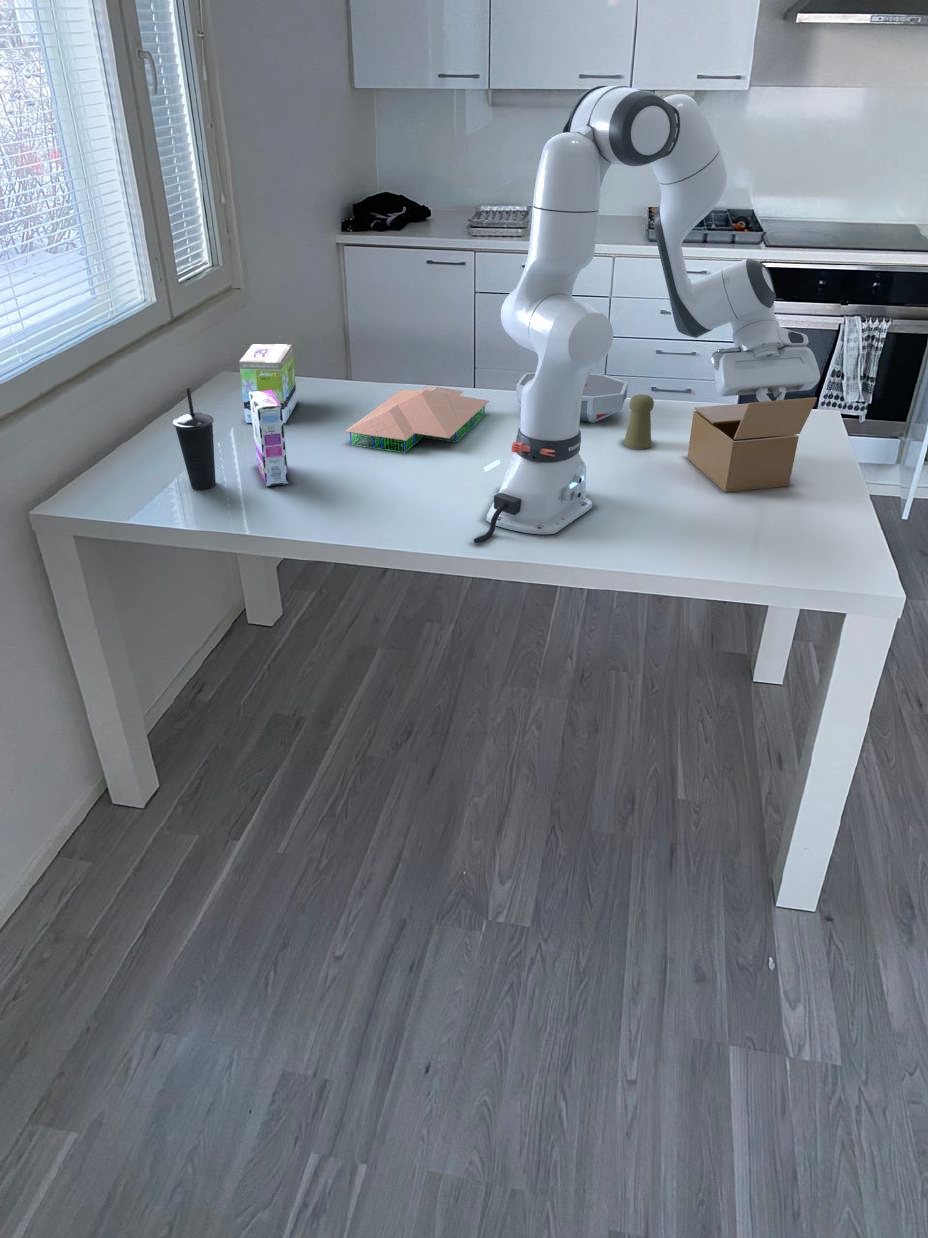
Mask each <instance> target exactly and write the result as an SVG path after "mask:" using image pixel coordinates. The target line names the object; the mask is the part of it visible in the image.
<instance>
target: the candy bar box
mask: <svg viewBox="0 0 928 1238" xmlns="http://www.w3.org/2000/svg"><path fill="white" fill-rule="evenodd" d="M249 397H250V405H251V415H252V423H251V424H252V431H253V440H254V448H255V458H256V465H257V466H256V467H257V469H258V472H259V474H260V476H261V479H262V480H263V482H264V485H265V487H275V486H283V485H289V483H290V482H289V473H288V461H287V449H286V439H285V430H284V429H285V428H284V423H283V417H282V406H281V405H280V403H279V402H278V400H277V398H276V397H275V395H274V393H273V392H272V390H264V391H255V392H249Z"/></svg>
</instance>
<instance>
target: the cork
mask: <svg viewBox="0 0 928 1238" xmlns="http://www.w3.org/2000/svg"><path fill="white" fill-rule="evenodd" d="M628 404H629V409H630V410H631V411H630V415H629V419H628V422H627V423H628V424H627V427H626V432H625V435H624V441H623V446H625V447H626V448H629V449H632V450H647V449H650V448H651V447H652V422H651V417H652V416H651V412H652V411H653V409H654V405H655V401H654V399H653V397H651V396H650V395H648V394H643V393H642V394H641V393H640V394H635V395H633V396H632V397H631V398H630V401H629V403H628Z"/></svg>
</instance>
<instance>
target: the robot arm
mask: <svg viewBox="0 0 928 1238" xmlns="http://www.w3.org/2000/svg"><path fill="white" fill-rule="evenodd" d="M612 164H613V165H620V166H621V165H622V166H623V165H624V166H628V167H642V166H646V165H649V164H650V165H651V167H652V170H653V174H654V176H655V178H656V181H657V183H658V186H659V190H660V202H659V205H658V206H657V207H656V209H655V210H654V214H653V227H654V234H655V240H656V244H657V250H658V253H659V258H660V262H661V268H662V272H663V275H664V279H665V284H666V289H667V293H668V298H669V309H670V310H669V311H670V315H671V319H672V322H673V325H674V326H675V327H674V328H676V330H677V332H679V333H680V334H682V335H684V336H687V337H690V338H695V339H698V338H699V337H701V336H704V335H705V334H707V333H709V332H711V331H713V330H714V329H717V328H719V327H722V326H725V325H726V324H727V325H728V324H730V325H731V329H732V342H733V345H734V347H728V348H724V347H720V348H717V349H716V350H715V351H713V352H712V354H711V358H710V359H711V363H712V367H713V369H714V380H715V388H716V392H717V393H718V394H719V395H720V396H721V397H733V396H746V395H747V396H748V395H755V398H756V400H757V401H758V402H763V401H772V400H771V398H770V397H769V396H768V394H773V397H774V398H776V400H785V396H786V393H789V392H800V391H811V390H812V389H813V388H814V387H815V386H817V384H818V383H819V381H820V379H821V372H820V369H819V365H818V362H817V360H816V357H815V353H814V352H813V351H812V349H810V348H809V347H808V346H807V345H808V344H809V337H808V335H807V334H805V333H802V332H799V331H794V330H790V329H787V328H785V327H782V326H781V325H780V321H779V320H778V318H777V317H776V315H775V301H776V297H777V294H776V291H775V287H774V283H773V278H772V276H771V273H770V270H769V268H768V267H767V266H766V265H765V264H763V263H762V262H760V261H758V260H755V259H752V258H746V259H743V260H740V261H737V262H735V263H732V264H729V265H728V266H725V267H723V268H721V269H720V270H717V271H715V272H711V273H710V274H708V275H705V276H702V277H700V278H698V279H690V278H689V276H688V271H687V266H686V262H685V257H684V252H683V247H682V244H683V242H684V240H685V239H686V237H687V236H688V234H690V233H691V231H692V230H693V229H694V228H695V227H696V226H697V225H698V224H699V223H700V222H701V221H702V220H704V219H705V218H706V217H707V216H708V215H709V214H710V213H711V212H712V211H713V209H714V208H715V207H716V205H717V204H719V203H718V202H720V200H721V198H722V196H723V194H724V192H725V189H726V187H727V186H726V185H727V179H728V172H727V169H726V165H725V160H724V157H723V154H722V151H721V148H720V146H719V143H718V141H717V138H716V135H715V132H714V131H713V129H712V127H711V125H710V124H709V121H708V119H707V117H706V116H705V114H704V113H703V111H702V109H701V107H700V106H699V105H698V103H697V102H696V100H695V99H693V98H692V97H691V96H690V95H687V94H683V93H682V94H681V93H679V94H678V93H677V94H672V95H669V96H666V97H662V96H660V95H659V94H657V93H655V92H653V91H650V90H645V89H641V90H640V89H637V88H634V87H632V86H628V85H598V86H595V87H592V88H590V89H588V90H586V91H585V92H583V93H582V94H580V96H579V97H578V98H577V99H576V100H575V102H574V104H573V105H572V107H571V109H570V112H569V115H568V119H567V121H566V123H565V125H564V126H563V129H562V133H559V134H556V135H554V136H552V137H551V138H549V139H548V140H547V142H546V143H545V144H544V146H543V148H542V152H541V155H540V159H539V163H538V167H537V172H536V178H535V183H534V190H533V200H532V212H531V221H530V222H531V223H530V233H529V242H528V243H529V244H528V252H527V256H526V261H525V264H524V267H523V271H522V274H521V276H520V279H519V281H518V283H517V285H516V287H515V288H514V289H513V290H512V291H511V292H510V293H509V294H508V295H507V296H506V297H505V299H504V301H503V303H502V305H501V309H500V322H501V326H502V328H503V330H504V331H505V333H506V334H507V335H508V337H510V338H511V339H512V340H513V341H514V342H515V343H516V344H517V345H519V347H520V346H521V347H522V348H523V349H527V350H528V351H531V352H533V353H535V354H537V361H538V362H537V366H536V370H535V372H536V373H535V376H534V378H533V379H532V380H530V381H529V382H527V383H526V384H525V386H524V387H523V389H522V393H521V403H520V417H519V418H520V419H519V420H520V422H519V427H518V429H517V434H516V437H515V440H514V441H513V442H512V444H511V452H512V454H513V455H512V457H511V459H510V462H509V465H508V467H507V470H506V473H505V475H504V478H503V481H502V483H501V486H500V489H499V491H498V493H496V494H495V495H493V502H492V504H491V506H490V508H489V510H488V512H487V513H486V522H488V523H490V524H489V529H488V530H487V532H486V533H484V534H482V535H480V536H478V537H475V538H473V542H474V544H476V545H477V544H479V543H481V542H485V541H487V540H488V539H490V538H491V537H492V536H493V534H494V532H495V531H496V526H497V527H499V528H502V529H506V530H510V531H514V532H519V533H525V534H533V535H534V534H535V535H554V534H555V535H556V533H558V532H560V531H561V530H563V529H564V528H565V527H566V526H568V525H570V524H571V523H572V522H574V521H575V520H577V519H578V518H579V517H581V516H583V515H584V514H585V513H587V512H589V511H590V510H591V509H592V508H593V501H592V500H591V499H590V498H588V497H587V465H586V463H585V462H584V461H583V459H582V457H581V455H580V451H581V444H582V431H581V429H580V422H581V421H580V411H581V401H582V394H583V389H584V386H585V383H586V380H587V378H588V376H589V374H590V373H591V372H592V370H593V369H594V368H595V367H597V366H599V364H601V363H602V362H603V361H604V360H605V359H606V357H608V354H609V353H610V351H611V348H612V345H613V341H614V329H613V325H612V323H611V321H610V319H609V318H608V317H607V316H606V315H605V314H604V313H602V312H601V311H600V310H599V309H598V308H596V307H595V306H594V305H593V304H590V303H589V302H586V301H584V300H583V301H582V300H580V299H577V298H575V297H573V290H574V286H575V283H576V281H577V278H578V276H579V275H580V272H581V271H582V270H583V269H585V268H586V267H588V266H589V265H590V264H591V263H592V261H593V259H594V257H595V250H596V241H597V231H598V223H599V215H600V214H599V213H600V204H601V203H600V202H601V189H602V184H603V182H604V178H605V177H606V174H607V171H608V170H609V168H610V167H611V165H612ZM500 464H501V460H500V459H497V460H495V461H494V462H492V463H490V464H488V465H486V466H485V467H484V468H483V470H484V472H487V471H489V470H492V469H493V468H495V467H497V466H498V465H500Z"/></svg>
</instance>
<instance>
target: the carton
mask: <svg viewBox="0 0 928 1238" xmlns="http://www.w3.org/2000/svg"><path fill="white" fill-rule="evenodd" d="M748 403H749V402H748ZM748 403H747V402H745V403H735V404H734V403H733V404H722V405H709V406H708V405H707V406H697V407H694V409H693V410H694V411H693V412H692V413H693V414H692V419H691V420H692V421H691V429H690V436H689V441H688V450H687V457H686V458H687V460H689V461H690V463H692V464H693V465H694V466H695V467H696V468H697V469H699V470H700V471H701V473H703V474H704V475H705V476H707V478H709V479H710V480H711V481H712V482H713V483H714V484H715V485H717V487H719V488H720V489H721V490H722V491H723V492H724V493H731V492H739V491H751V490H761V489H771V488H780V487H789V486H790V482H791V477H792V472H793V468H794V463H795V457H796V452H797V449H798V443H799V439H800V438H799V437H800V436H799V435H798V434H793V435H781V436H770V437H759V438H747V439H736V440H734V437H735V434H736V432H737V429H738V427H739V425H740V422H741V420H742V418H743V415H744V413H745V410H746V408H747V406H748Z"/></svg>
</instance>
